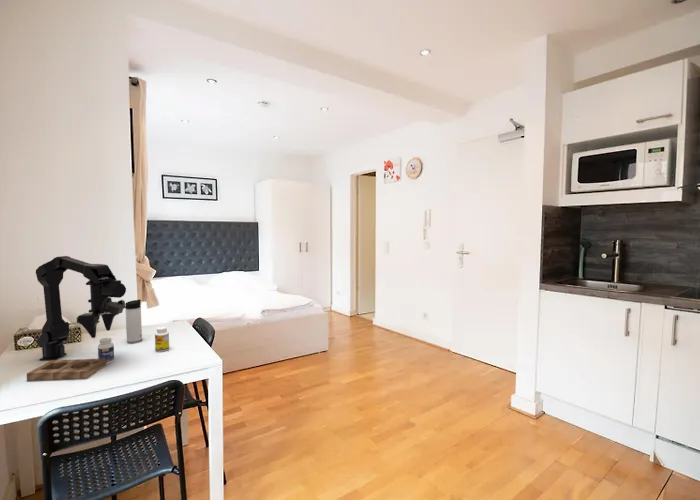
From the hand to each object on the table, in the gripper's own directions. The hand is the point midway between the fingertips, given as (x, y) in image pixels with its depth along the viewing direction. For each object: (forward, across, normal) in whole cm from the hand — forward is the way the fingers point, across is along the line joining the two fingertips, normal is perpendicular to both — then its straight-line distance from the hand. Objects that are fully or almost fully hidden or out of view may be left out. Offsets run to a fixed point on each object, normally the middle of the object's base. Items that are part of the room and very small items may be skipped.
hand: (101, 334), depth 139 cm
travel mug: (+13, +27, +1) cm, 30 cm away
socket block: (+12, -8, +7) cm, 17 cm away
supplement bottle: (+13, +14, -17) cm, 26 cm away
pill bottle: (+13, +2, 0) cm, 13 cm away
